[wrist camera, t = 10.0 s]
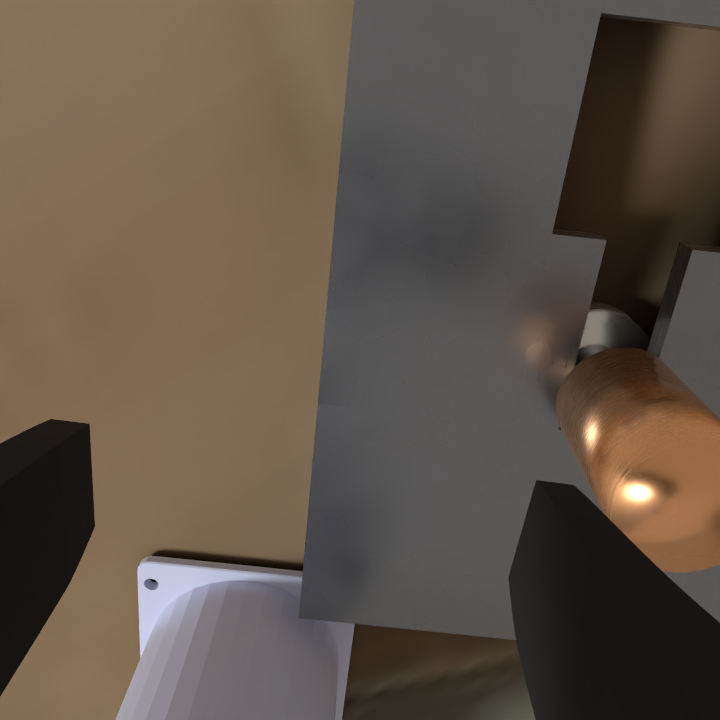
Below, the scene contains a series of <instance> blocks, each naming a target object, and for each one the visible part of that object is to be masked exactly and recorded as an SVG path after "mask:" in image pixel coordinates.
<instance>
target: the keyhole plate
mask: <svg viewBox="0 0 720 720" xmlns="http://www.w3.org/2000/svg"><path fill="white" fill-rule="evenodd" d="M600 17H606V18H615V19H624V20H632V21H641V22H649V23H658V24H666V25H675V26H683V27H692V28H700V29H709V30H718V31H720V0H354V10H353V21H352V32H351V43H350V54H349V65H348V77H347V88H346V99H345V110H344V121H343V132H342V143H341V154H340V165H339V176H338V187H337V198H336V210H335V221H334V232H333V243H332V254H331V265H330V276H329V287H328V298H327V309H326V320H325V331H324V343H323V354H322V365H321V376H320V387H319V398H318V409H317V420H316V431H315V442H314V453H313V464H312V476H311V487H310V498H309V509H308V520H307V531H306V542H305V553H304V564H303V575H302V586H301V597H300V609H299V618H303V619H313V620H322V621H332V622H342V623H352V624H362V625H372V626H382V627H392V628H402V629H411V630H421V631H431V632H441V633H451V634H461V635H471V636H481V637H490V638H500V639H510V640H516V637H515V631H514V623H513V616H512V608H511V598H510V589H509V579H508V577H509V573H510V570H511V566H512V563H513V559H514V556H515V552H516V549H517V545H518V542H519V538H520V535H521V531H522V528H523V524H524V521H525V517H526V514H527V510H528V507H529V503H530V500H531V496H532V493H533V489H534V486H535V482H536V480H540V481H548V482H556V483H564V484H572V485H574V486H576V487H577V488H578V489H579V490H580V491H581V492H582V493H583V494H584V495H585V496H587V497H588V498H589V499H590V500H591V501H592V502H593V503H594V504H595V505H596V506H597V507H598V508H599V509H600V510H601V511H602V509H601V507H600V505H599V503H598V501H597V499H596V497H595V495H594V493H593V491H592V489H591V487H590V485H589V483H588V481H587V479H586V477H585V475H584V473H583V471H582V469H581V467H580V465H579V464H578V462H577V460H576V458H575V456H574V454H573V452H572V450H571V448H570V446H569V444H568V442H567V440H566V438H565V436H564V434H563V432H562V430H561V428H560V426H559V423H558V421H557V416H556V399H557V394H558V391H559V389H560V386H561V384H562V383H563V381H564V379H565V378H566V376H567V375H568V374H569V373H570V371H571V370H572V369H573V368H574V367H575V363H576V359H577V355H578V351H579V347H580V343H581V340H582V336H583V332H584V328H585V324H586V320H587V316H588V312H589V308H590V304H591V300H592V296H593V293H594V289H595V285H596V281H597V277H598V273H599V269H600V265H601V261H602V257H603V253H604V249H605V246H606V242H607V240H606V239H604V238H603V237H602V236H600V235H599V234H598V233H591V232H582V231H573V230H564V229H555V228H554V223H555V219H556V214H557V210H558V205H559V201H560V196H561V192H562V187H563V183H564V178H565V174H566V169H567V165H568V160H569V155H570V151H571V146H572V142H573V137H574V133H575V128H576V124H577V119H578V115H579V110H580V106H581V101H582V97H583V92H584V88H585V83H586V79H587V74H588V70H589V65H590V61H591V56H592V52H593V47H594V43H595V38H596V34H597V29H598V25H599V20H600ZM647 352H650V353H652V354H654V355H656V356H657V357H658V358H660V359H661V360H662V361H663V362H664V363H665V364H666V365H667V366H668V367H669V368H670V369H671V370H672V371H673V372H674V373H675V374H676V375H677V376H678V377H679V378H680V379H681V380H682V381H683V382H684V383H685V384H686V385H687V386H688V387H689V388H690V389H691V390H692V391H693V392H694V393H695V394H696V395H697V396H698V397H699V398H700V399H701V400H702V401H703V402H704V403H705V404H706V406H707V407H708V408H709V409H710V410H711V411H712V412H713V413H714V414H715V415H716V416H717V417H718V418H719V419H720V247H716V246H707V245H698V244H689V243H679V246H678V250H677V253H676V256H675V260H674V263H673V266H672V270H671V273H670V276H669V280H668V283H667V286H666V290H665V293H664V296H663V300H662V303H661V306H660V310H659V313H658V316H657V320H656V323H655V326H654V330H653V333H652V336H651V340H650V343H649V346H648V350H647ZM602 512H603V511H602ZM663 572H664V573H665V574H666V575H667V576H668V577H669V578H670V579H671V580H672V581H673V582H674V583H676V584H677V585H678V586H679V587H680V588H681V589H682V590H683V591H684V592H685V593H686V594H687V595H689V596H690V597H691V598H692V599H693V600H694V601H695V602H697V603H698V604H699V605H700V606H701V607H702V608H703V609H705V610H706V611H707V612H708V613H709V614H710V615H711V616H713V617H714V618H715V619H716V620H717V621H718V622H719V623H720V564H719V565H717V566H714V567H711V568H708V569H704V570H699V571H693V572H666V571H663Z"/></svg>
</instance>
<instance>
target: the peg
mask: <svg viewBox="0 0 720 720" xmlns="http://www.w3.org/2000/svg"><path fill="white" fill-rule="evenodd" d="M649 343H650V341H649V339H648V337H647V335H646V334H645V332H644V331H643V330H642V329H641V328H640V327H639V326H638V325H637V324H636V323H635V322H634V321H633V320H632V319H631V318H630V317H629V316H628V315H627V314H626V313H625V312H623V311H622V310H621V309H619V308H617V307H615V306H613V305H610V304H607V303H603V302H597V301H591V304H590V308H589V312H588V316H587V320H586V324H585V328H584V332H583V336H582V340H581V343H580V347H579V351H578V355H577V359H576V363H575V367H574V368H573V369H572V370H571V371H570V373H569V374H568V375H567V376H566V378H565V379H564V381H563V383H562V384H561V386H560V389H559V391H558V394H557V399H556V416H557V421H558V423H559V426H560V428H561V430H562V432H563V434H564V436H565V438H566V440H567V442H568V444H569V446H570V448H571V450H572V452H573V454H574V456H575V458H576V460H577V462H578V464H579V465H580V467H581V469H582V471H583V473H584V475H585V477H586V479H587V481H588V483H589V485H590V487H591V489H592V491H593V493H594V495H595V497H596V499H597V501H598V503H599V505H600V507H601V509H602V511H603V513H604V514H605V515H606V516H607V517H608V518H609V519H610V520H611V521H612V522H613V523H614V524H615V525H616V526H617V527H618V528H619V529H620V530H621V531H622V532H623V533H624V534H625V535H626V536H627V537H628V538H629V539H630V540H631V541H632V542H633V543H634V544H635V545H636V546H637V547H638V548H639V549H640V550H641V551H642V552H643V553H644V554H645V555H646V556H647V557H648V558H649V559H650V560H651V561H652V562H653V563H654V564H655V565H656V566H657V567H658V568H660V569H661V570H662V571H666V572H693V571H699V570H704V569H708V568H711V567H714V566H717V565H719V564H720V419H719V418H718V417H717V416H716V415H715V414H714V413H713V412H712V411H711V410H710V409H709V408H708V407H707V406H706V404H705V403H704V402H703V401H702V400H701V399H700V398H699V397H698V396H697V395H696V394H695V393H694V392H693V391H692V390H691V389H690V388H689V387H688V386H687V385H686V384H685V383H684V382H683V381H682V380H681V379H680V378H679V377H678V376H677V375H676V374H675V373H674V372H673V371H672V370H671V369H670V368H669V367H668V366H667V365H666V364H665V363H664V362H663V361H662V360H661V359H660V358H658V357H657V356H656V355H654V354H652V353H650V352H647V350H648V346H649Z"/></svg>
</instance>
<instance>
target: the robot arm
mask: <svg viewBox="0 0 720 720" xmlns="http://www.w3.org/2000/svg"><path fill="white" fill-rule="evenodd" d="M94 527H95V520H94V501H93V483H92V464H91V445H90V426H89V424H86V423H78V422H70V421H62V420H54V419H50V420H48V421H46V422H43V423H41V424H39V425H37V426H34V427H32V428H30V429H28V430H26V431H24V432H22V433H20V434H18V435H16V436H14V437H12V438H10V439H8V440H6V441H4V442H3V443H1V444H0V696H1V694H2V693H3V691H4V689H5V688H6V686H7V685H8V683H9V681H10V680H11V678H12V677H13V675H14V673H15V672H16V670H17V668H18V667H19V665H20V664H21V662H22V660H23V659H24V657H25V656H26V654H27V652H28V651H29V649H30V647H31V646H32V644H33V643H34V641H35V639H36V638H37V636H38V635H39V633H40V631H41V630H42V628H43V626H44V625H45V623H46V622H47V620H48V618H49V617H50V615H51V613H52V612H53V610H54V608H55V607H56V605H57V603H58V602H59V600H60V598H61V597H62V595H63V593H64V592H65V590H66V588H67V587H68V585H69V583H70V581H71V579H72V577H73V575H74V573H75V571H76V569H77V566H78V564H79V562H80V560H81V558H82V555H83V553H84V551H85V548H86V546H87V544H88V541H89V539H90V537H91V534H92V532H93V530H94ZM302 575H303V571H296V570H286V569H276V568H267V567H257V566H247V565H237V564H227V563H218V562H208V561H198V560H188V559H179V558H169V557H159V556H148V557H146V558H144V559H143V560H142V561H141V563H140V565H139V567H138V601H139V630H140V661H139V664H138V666H137V668H136V671H135V673H134V676H133V678H132V681H131V683H130V686H129V688H128V690H127V693H126V695H125V698H124V700H123V703H122V705H121V708H120V710H119V713H118V715H117V717H116V720H342V715H343V708H344V700H345V693H346V685H347V678H348V670H349V663H350V656H351V648H352V641H353V633H354V626H355V624H352V623H342V622H332V621H322V620H313V619H303V618H299V609H300V597H301V586H302ZM149 579H154V580H156V581H157V582H152V581H150V580H149ZM508 579H509V589H510V598H511V608H512V616H513V623H514V631H515V637H516V642H517V646H518V650H519V654H520V658H521V662H522V667H523V671H524V675H525V679H526V683H527V687H528V691H529V695H530V699H531V703H532V706H533V710H534V714H535V718H536V720H720V623H719V622H718V621H717V620H716V619H715V618H714V617H713V616H711V615H710V614H709V613H708V612H707V611H706V610H705V609H703V608H702V607H701V606H700V605H699V604H698V603H697V602H695V601H694V600H693V599H692V598H691V597H690V596H689V595H687V594H686V593H685V592H684V591H683V590H682V589H681V588H680V587H679V586H678V585H677V584H676V583H674V582H673V581H672V580H671V579H670V578H669V577H668V576H667V575H666V574H665V573H664V572H663V571H662V570H661V569H660V568H658V567H657V566H656V565H655V564H654V563H653V562H652V561H651V560H650V559H649V558H648V557H647V556H646V555H645V554H644V553H643V552H642V551H641V550H640V549H639V548H638V547H637V546H636V545H635V544H634V543H633V542H632V541H631V540H630V539H629V538H628V537H627V536H626V535H625V534H624V533H623V532H622V531H621V530H620V529H619V528H618V527H617V526H616V525H615V524H614V523H613V522H612V521H611V520H610V519H609V518H608V517H607V516H606V515H605V514H604V513H603V512H602V511H601V510H600V509H599V508H598V507H597V506H596V505H595V504H594V503H593V502H592V501H591V500H590V499H589V498H588V497H587V496H585V495H584V494H583V493H582V492H581V491H580V490H579V489H578V488H577V487H576V486H574V485H572V484H564V483H556V482H548V481H540V480H536V482H535V486H534V489H533V493H532V496H531V500H530V503H529V507H528V510H527V514H526V517H525V521H524V524H523V528H522V531H521V535H520V538H519V542H518V545H517V549H516V552H515V556H514V559H513V563H512V566H511V570H510V573H509V577H508Z"/></svg>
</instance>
